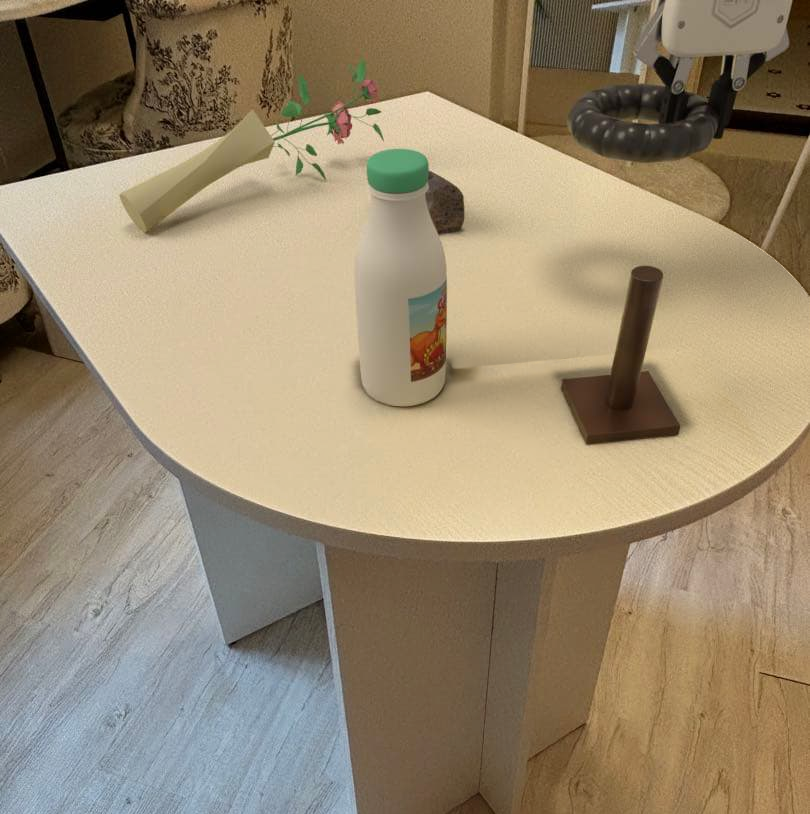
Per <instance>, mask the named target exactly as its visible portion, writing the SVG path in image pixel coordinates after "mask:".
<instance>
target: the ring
mask: <svg viewBox="0 0 810 814" xmlns="http://www.w3.org/2000/svg"><path fill="white" fill-rule="evenodd" d="M664 90H665V85H660V84H651V83H642V82H641V83H639V82H638V83H625V84H623V83H621V84H611V85H607V86H604V87H600V88H597V89H594V90H591V91H588V92H586V93H583V94H582V95H581V96H580V97H579V98H578V99H577V101H576V102H575V103H574V104H573V106H572V107H571V108H570V110H569V112H568V114H567V118H566V127H567V130H568V131H569V133H570V134H571V136H572V137H573V139H574V140H575V142H576V143H577V145H578V146H580V148H582V149H585V150H587V151H589V152H591V153H594V154H597V155H599V156H601V157H603V158H606V159H608V160H614V161H615V160H616V161H624V162H628V163H629V162H630V163H637V164H652V163H653V164H654V163H668V162H669V163H670V162H677V161H680V160H683V159H686V158H689V157H691V156H694V155H697V154H699V153H701V152H703V151H704V150H706V149H708V147H709V146H710V145H711V143H712V142H713V139H714V138H713V137H714V135H715V133H716V130H717V128H718V124H719V117H718V114H717V112H716V110H715V109H714V108H713V107H712V106H711V105H710V104H709V103H708V100H706V99H705V98H704V97H702V96H701V95H699V94H696V93H693V92H690V91H687V90H685V92H686V93H687V94H688V96H689V99H688V104H687V108H686V113H685V117H684V119H683V120H680V121H677V122H674V123H659V115H660V110H661V105H662V100H663V95H664ZM636 120H637V121H645V122H651V123H642V122H636ZM633 121H635V122H633Z"/></svg>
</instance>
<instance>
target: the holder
mask: <svg viewBox="0 0 810 814" xmlns="http://www.w3.org/2000/svg"><path fill="white" fill-rule="evenodd" d="M630 271H631V272H630V275H629V281H628V284H627V285H628V286H627V291H626V295H625V301H624V305H623V311H622V316H621V320H620V325H619V331H618V335H617V339H616V345H615V350H614V356H613V359H612V366H611V369H610V370H611V371H610V374H601V375H594V376H593V375H591V376H590V375H589V376H582V377H570V378H562V379H561V380H562V381H561V386H560V389H561V391H562V394H563V395H564V398H565V401H566V402H567V404H568V407H569V409H570V411H571V413H572V416H573V418H574V420H575V422H576V424H577V427H578V429H579V431H580V434H581V436H582V438H583V440H584V442H585V444H586V445H594V444H603V443H609V442H610V443H611V442H621V441H631V440H641V439H651V438H660V437H669V436H678V435H679V434H680V430H681V424H680V422H679V420H678V419H677V417H676V415H675V413H674V412H673V410H672V409H671V407H670V405H669V403H668V402H667V400H666V398H665V397H664V395H663V393H662V391H661V390H660V388H659V387H658V385H657V383H656V381H655V379H654V378H653V376H652V375H651V373H650V372H649V370H643V364H644V361H645V357H646V352H647V348H648V344H649V340H650V335H651V331H652V327H653V323H654V318H655V314H656V309H657V306H658V302H659V297H660V294H661V293H660V292H661V289H662V284H663V281H664V280H663V279H664V276H665V275H664V272H663V270H661V269H660V268H658V267H656V266H652V265H638V266H636V267H634V268H632V270H630Z"/></svg>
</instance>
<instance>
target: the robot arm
mask: <svg viewBox="0 0 810 814" xmlns="http://www.w3.org/2000/svg"><path fill="white" fill-rule="evenodd" d="M792 4H793V0H655V4H654V9H653V15H652V17H651V18H650V20H649V21H648V23H647V25H646V26H645V28H644V29H643V31H642V32H641V34H640V35H639V37H638V39H637V40H636V42H635V44H634V45H633V47H632V50H631V52H632V55H633V56H634V57H635V58H636V59H637V60H638V61H640V62H641V63H643V64H644V65H645V66H647V67H649V68H650V69H652V70H653V71H654V72H655V74H656V75H657V77H658V78H659V79H660V81H661V82H662V84H663V86H665V90H664V95H663V100H662V105H661V110H660V115H659V122H658V124H659V123H674V122H677V121H680V120H683V119H684V117H685V113H686V108H687V104H688V99H689V96H688V94H687V93H686V92H685V91H686V87H687V82H688V79H689V76H690V73H691V70H692V66H693V64H694V61H695V58H703V57H722V60H721V67H720V76H719V78H718V79H714V80H713V83H712V84H711V87H710V91H709V96H708V100H707V102H708V103H709V104H710V105H711V106H712V107H713V108H714V109H715V110H716V112H717V114H718V117H719V124H718V128H717V130H716V133H715V135H714V137H713V139H714V140H721V139H722V138H723V136H724V132H725V128H726V126H728V125H729V124H730V121H731V118H732V114H733V109H734V106H735V102H736V98H737V94H738V92H739V91H741V90H742V89H744V87H745V86H746V84H747V80H749V79H750V77H751V76H753V75H754V74H755V73H756V72H758V70H759V69H761V68H762V67H763V65H764V64H765V63H766V62H769V61H771V60H773V59H775V58H776V57H777V56H779V55H780V54H782V53H783V52H785V51H786V50H787V49H788V48H789V46H790V38H789V34H788V33H789V32H788V29H787V24H788V20H789V17H790V12H791V8H792ZM659 43H661V45H662V47H664V48H665V51H667V52H668V54H667V57H666V55H664V54H663V53H661V52H660V51H658V49H657V48H658V44H659Z"/></svg>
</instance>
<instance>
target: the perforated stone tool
mask: <svg viewBox="0 0 810 814" xmlns="http://www.w3.org/2000/svg"><path fill="white" fill-rule="evenodd" d="M428 186H429V188H428V190H427V192H426V193H425V197H426V203H427V207H428V211H429V214H430V217H431V219H432V222H433V224H434V226H435V229H436V231H437V233H438V235H443V234H450V233H454V232H458V231H460V230H461V229H462V227H463V226H464V223H465V201H464V200H465V199H464V198H465V196H464V194H463V192H462V190H460V188H459V187H458V186H457V185H455V184H454V183H452V182H451V181H449V180H448V179H446V178H445V177H442V176H441V175H439V174H437V173H435V172H433V171H431V170H429V177H428Z"/></svg>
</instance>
